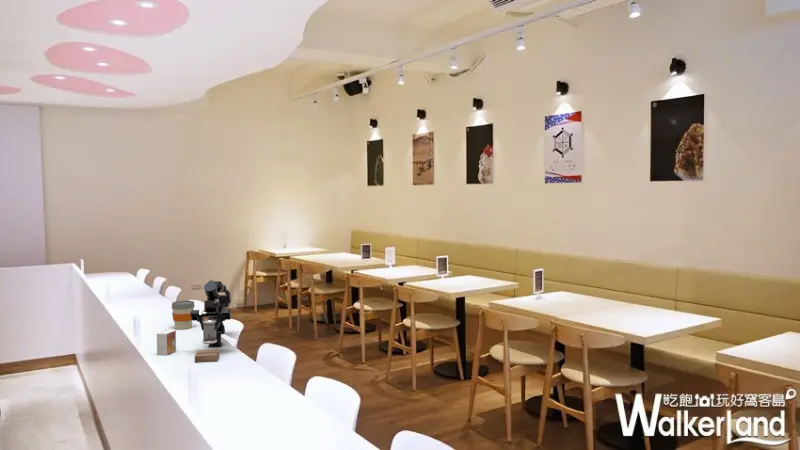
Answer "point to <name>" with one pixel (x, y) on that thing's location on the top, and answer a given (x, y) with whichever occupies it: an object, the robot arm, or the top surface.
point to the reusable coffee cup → (182, 314)
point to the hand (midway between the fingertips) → (209, 329)
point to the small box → (166, 342)
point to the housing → (209, 331)
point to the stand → (207, 356)
